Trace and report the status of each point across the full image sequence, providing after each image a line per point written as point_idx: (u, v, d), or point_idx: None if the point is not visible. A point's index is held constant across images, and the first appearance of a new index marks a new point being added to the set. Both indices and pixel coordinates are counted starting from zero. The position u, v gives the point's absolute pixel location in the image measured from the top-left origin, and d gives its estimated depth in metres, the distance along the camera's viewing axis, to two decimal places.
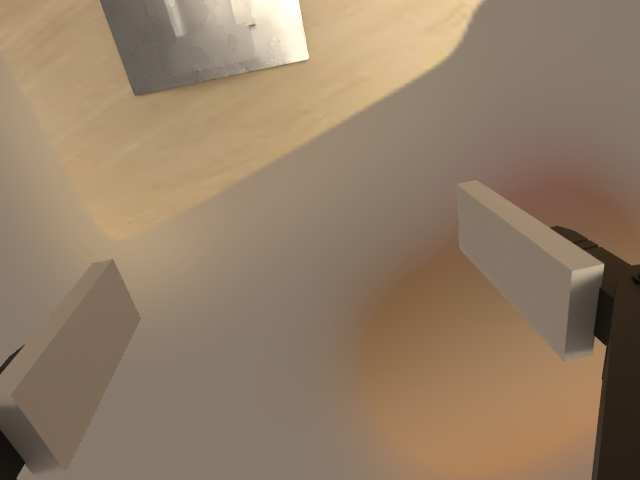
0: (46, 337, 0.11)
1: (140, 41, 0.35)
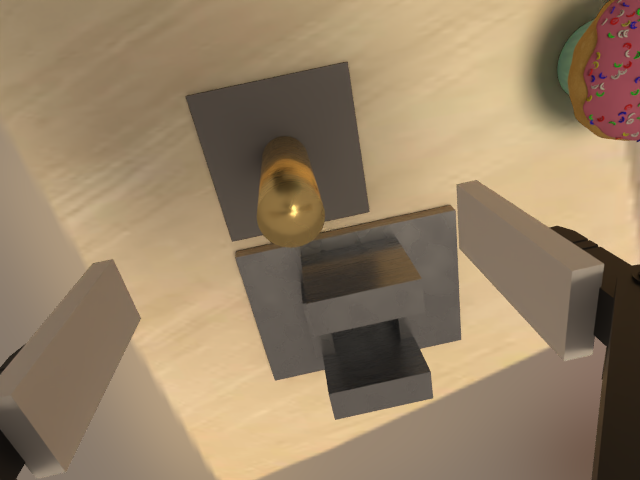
0: (46, 337, 0.11)
1: (288, 337, 0.33)
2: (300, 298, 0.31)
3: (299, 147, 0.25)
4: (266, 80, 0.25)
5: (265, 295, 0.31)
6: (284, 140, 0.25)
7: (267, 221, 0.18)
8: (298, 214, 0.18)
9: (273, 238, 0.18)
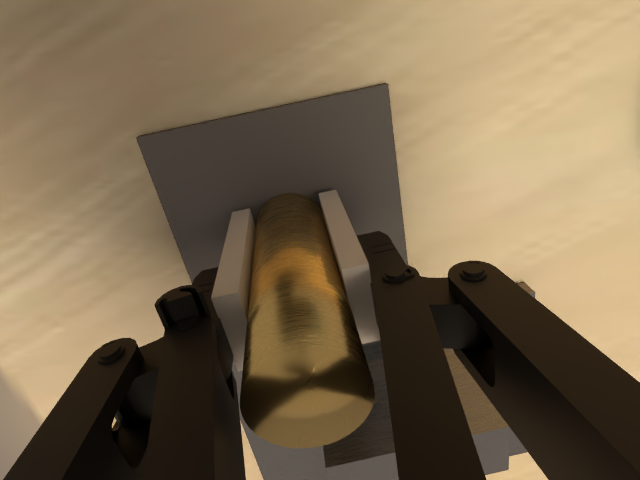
0: (235, 258, 0.13)
1: (294, 458, 0.24)
2: None
3: (313, 216, 0.16)
4: (262, 112, 0.16)
5: None
6: (290, 203, 0.16)
7: (260, 411, 0.09)
8: (323, 395, 0.09)
9: (273, 436, 0.09)
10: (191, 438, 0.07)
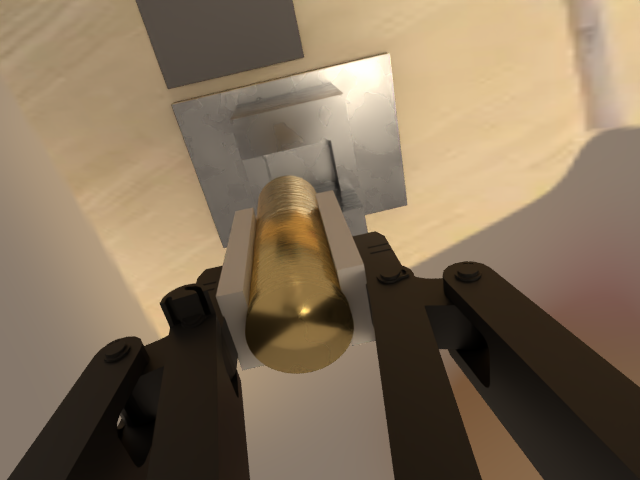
0: (239, 257, 0.13)
1: (233, 199, 0.33)
2: None
3: (308, 194, 0.18)
4: None
5: (205, 149, 0.31)
6: (287, 183, 0.19)
7: (261, 339, 0.11)
8: (312, 327, 0.11)
9: (271, 362, 0.12)
10: (195, 437, 0.07)
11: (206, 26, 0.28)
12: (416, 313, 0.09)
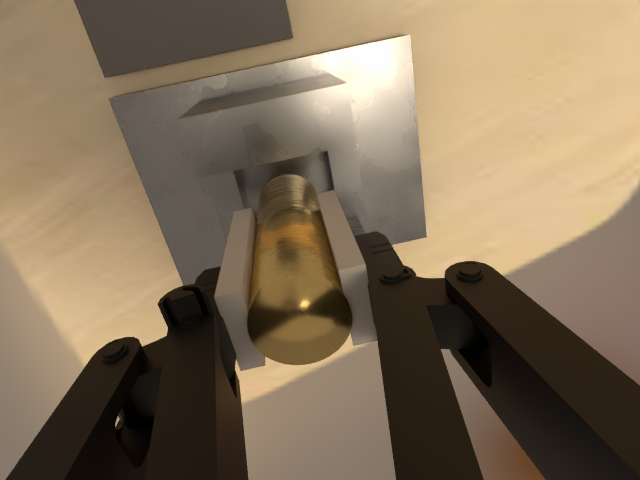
0: (237, 258, 0.13)
1: (196, 226, 0.25)
2: None
3: (308, 192, 0.18)
4: None
5: (158, 160, 0.23)
6: (288, 182, 0.19)
7: (262, 331, 0.12)
8: (312, 319, 0.12)
9: (272, 353, 0.12)
10: (194, 437, 0.07)
11: None
12: (418, 313, 0.09)
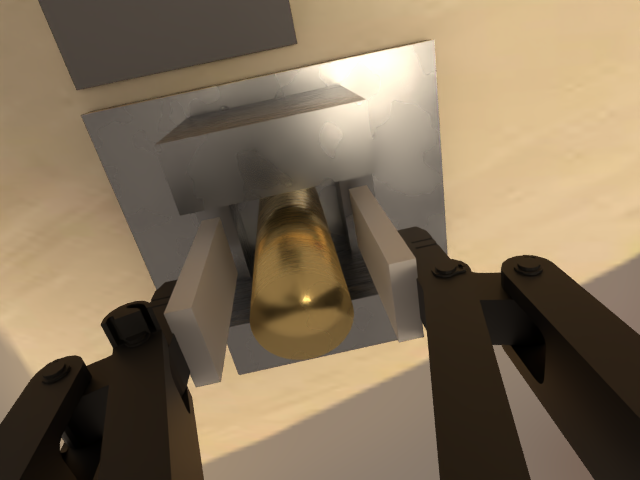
0: (195, 271, 0.13)
1: None
2: None
3: (309, 191, 0.18)
4: None
5: (140, 185, 0.20)
6: None
7: (265, 326, 0.12)
8: (314, 313, 0.12)
9: (274, 348, 0.12)
10: (146, 455, 0.07)
11: None
12: (471, 310, 0.09)
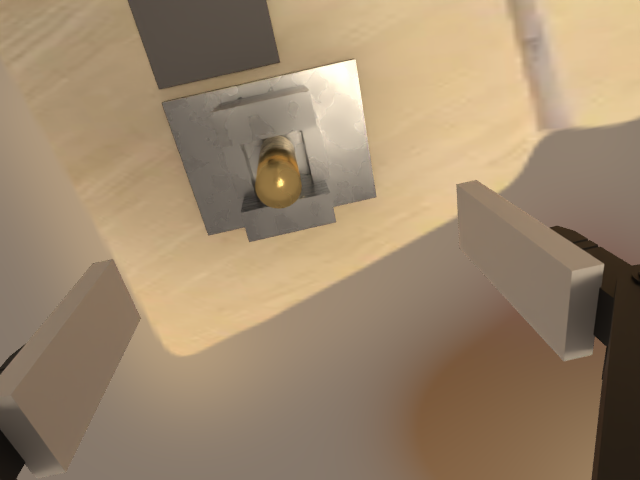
0: (46, 337, 0.11)
1: (216, 189, 0.36)
2: None
3: (287, 143, 0.33)
4: None
5: (192, 143, 0.35)
6: (276, 138, 0.34)
7: (262, 190, 0.27)
8: (283, 184, 0.27)
9: (266, 201, 0.27)
10: None
11: (193, 34, 0.32)
12: None
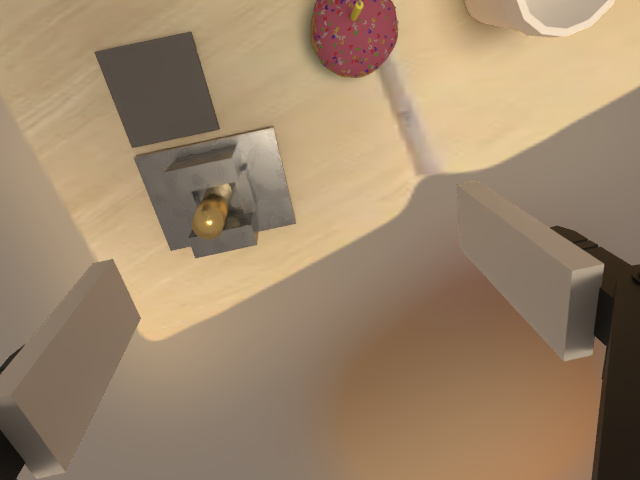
0: (46, 337, 0.11)
1: (176, 217, 0.50)
2: None
3: (224, 187, 0.47)
4: (142, 42, 0.42)
5: (156, 185, 0.48)
6: None
7: (196, 227, 0.40)
8: (210, 224, 0.40)
9: (199, 235, 0.40)
10: None
11: (156, 111, 0.45)
12: None
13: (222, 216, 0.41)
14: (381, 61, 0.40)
